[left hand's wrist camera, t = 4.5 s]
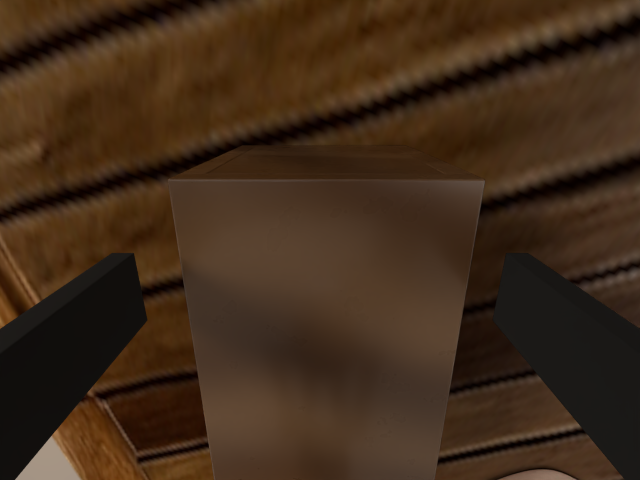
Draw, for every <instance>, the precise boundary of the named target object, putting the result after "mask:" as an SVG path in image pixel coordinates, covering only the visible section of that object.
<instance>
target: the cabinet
mask: <svg viewBox="0 0 640 480" xmlns="http://www.w3.org/2000/svg"><path fill="white" fill-rule="evenodd" d="M484 184H485V180H484V179H482V178H480V177H478V176H475V175H473V174H472V173H469V172H467V171H465V170H462V169H460V168H458V167H455V166H453V165H451V164H448V163H446V162H444V161H441V160H439V159H437V158H434V157H432V156H430V155H427V154H425V153H423V152H420V151H418V150H416V149H413V148H411V147H408V146H293V145H243V146H241V147H238V148H236V149H234V150H232V151H230V152H227V153H225V154H223V155H221V156H218V157H216V158H214V159H212V160H210V161H207V162H205V163H203V164H201V165H198V166H196V167H194V168H192V169H189V170H187V171H185V172H183V173H181V174H178V175H176V176H174V177H172V178H169V179H168V185H169V192H170V198H171V205H172V211H173V217H174V224H175V230H176V237H177V243H178V249H179V256H180V262H181V269H182V275H183V281H184V288H185V294H186V301H187V307H188V313H189V320H190V326H191V333H192V339H193V345H194V352H195V358H196V365H197V371H198V377H199V384H200V390H201V397H202V403H203V409H204V416H205V422H206V429H207V435H208V441H209V448H210V454H211V461H212V467H213V473H214V480H434V479H435V473H436V467H437V461H438V456H439V450H440V444H441V438H442V432H443V426H444V420H445V414H446V408H447V402H448V396H449V391H450V385H451V379H452V373H453V367H454V361H455V355H456V349H457V343H458V337H459V332H460V326H461V320H462V314H463V308H464V302H465V296H466V290H467V284H468V278H469V272H470V267H471V261H472V255H473V249H474V243H475V237H476V231H477V225H478V219H479V213H480V208H481V202H482V196H483V190H484Z"/></svg>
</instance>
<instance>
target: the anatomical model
mask: <svg viewBox="0 0 640 480" xmlns="http://www.w3.org/2000/svg"><path fill="white" fill-rule="evenodd" d="M498 480H576V479H574V478H572V477H570V476H568V475H566V474H563V473H561V472H557V471H554V470H547V469H536V470H529V471H524V472H520V473H516V474H512V475H509V476H506V477H503V478H501V479H498Z"/></svg>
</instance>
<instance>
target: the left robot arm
mask: <svg viewBox="0 0 640 480" xmlns="http://www.w3.org/2000/svg"><path fill="white" fill-rule="evenodd" d="M146 321H147V316H146V311H145V306H144V301H143V296H142V291H141V286H140V281H139V276H138V271H137V267H136V262H135V257H134V253H112V254H110V255H109V256H107V257H106V258H104V259H103V260H101V261H100V262H98V263H97V264H95V265H94V266H92V267H91V268H89V269H88V270H86V271H85V272H84V273H82V274H81V275H79V276H78V277H76V278H75V279H73V280H72V281H70V282H69V283H67V284H66V285H64V286H63V287H61V288H60V289H58V290H57V291H55V292H54V293H53V294H51V295H50V296H48V297H47V298H45V299H44V300H42V301H41V302H39V303H38V304H36V305H35V306H33V307H32V308H30V309H29V310H27V311H26V312H24V313H23V314H22V315H20V316H19V317H17V318H16V319H14V320H13V321H11V322H10V323H8V324H7V325H5V326H4V327H2V328H1V329H0V480H15V479H16V478H17V477H18V475H19V474H20V473H21V472H22V471H23V469H24V468H25V467H26V466H27V465H28V463H29V462H30V461H31V460H32V459H33V457H34V456H35V455H36V454H37V453H38V451H39V450H40V449H41V448H42V447H43V445H44V444H45V443H46V442H47V441H48V439H49V438H50V437H51V436H52V434H53V433H54V432H55V431H56V430H57V428H58V427H59V426H60V425H61V424H62V422H63V421H64V420H65V419H66V418H67V416H68V415H69V414H70V413H71V412H72V410H73V409H74V408H75V407H76V406H77V404H78V403H79V402H80V401H81V400H82V398H83V397H84V396H85V395H86V394H87V392H88V391H89V390H90V389H91V388H92V386H93V385H94V384H95V383H96V381H97V380H98V379H99V378H100V377H101V375H102V374H103V373H104V372H105V371H106V369H107V368H108V367H109V366H110V365H111V363H112V362H113V361H114V360H115V359H116V357H117V356H118V355H119V354H120V353H121V351H122V350H123V349H124V348H125V347H126V345H127V344H128V343H129V342H130V341H131V339H132V338H133V337H134V336H135V335H136V333H137V332H138V331H139V330H140V329H141V327H142V326H143V325H144V324H145V322H146ZM493 321H494V322H495V324H496V325H497V326H498V327H499V329H500V330H501V331H502V332H503V333H504V335H505V336H506V337H507V338H508V339H509V341H510V342H511V343H512V344H513V345H514V347H515V348H516V349H517V350H518V351H519V353H520V354H521V355H522V356H523V357H524V359H525V360H526V361H527V362H528V363H529V365H530V366H531V367H532V368H533V369H534V371H535V372H536V373H537V374H538V375H539V377H540V378H541V379H542V380H543V381H544V383H545V384H546V385H547V386H548V388H549V389H550V390H551V391H552V392H553V394H554V395H555V396H556V397H557V398H558V400H559V401H560V402H561V403H562V404H563V406H564V407H565V408H566V409H567V410H568V412H569V413H570V414H571V415H572V416H573V418H574V419H575V420H576V421H577V422H578V424H579V425H580V426H581V427H582V428H583V430H584V431H585V432H586V433H587V434H588V436H589V437H590V438H591V439H592V441H593V442H594V443H595V444H596V445H597V447H598V448H599V449H600V450H601V451H602V453H603V454H604V455H605V456H606V457H607V459H608V460H609V461H610V462H611V463H612V465H613V466H614V467H615V468H616V469H617V471H618V472H619V473H620V474H621V475H622V477H623V478H624V479H625V480H640V328H638V327H636V326H635V325H633V324H632V323H630V322H629V321H627V320H626V319H624V318H623V317H621V316H620V315H618V314H617V313H616V312H614V311H613V310H611V309H610V308H608V307H607V306H605V305H604V304H602V303H601V302H599V301H598V300H596V299H595V298H593V297H592V296H590V295H589V294H587V293H586V292H585V291H583V290H582V289H580V288H579V287H577V286H576V285H574V284H573V283H571V282H570V281H568V280H567V279H565V278H564V277H562V276H561V275H559V274H558V273H556V272H555V271H554V270H552V269H551V268H549V267H548V266H546V265H545V264H543V263H542V262H540V261H539V260H537V259H536V258H534V257H533V256H531V255H530V254H528V253H506V257H505V262H504V267H503V271H502V276H501V281H500V286H499V291H498V296H497V301H496V306H495V311H494V316H493Z"/></svg>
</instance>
